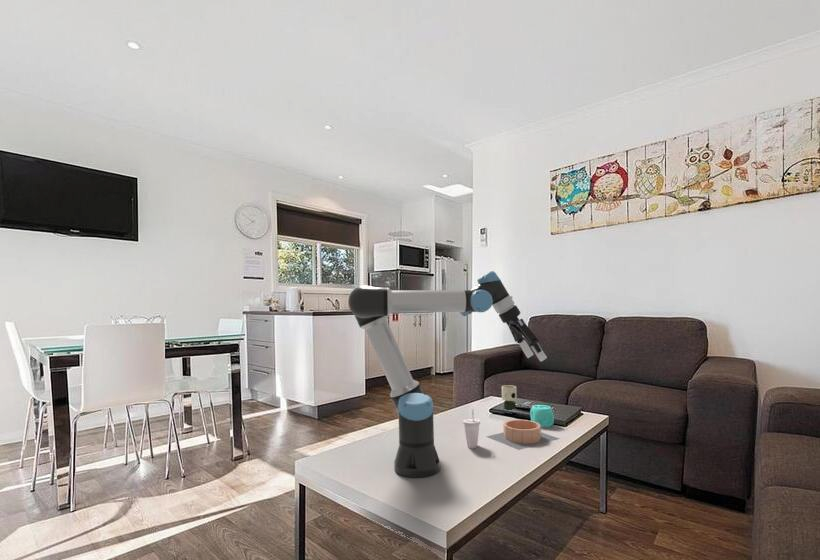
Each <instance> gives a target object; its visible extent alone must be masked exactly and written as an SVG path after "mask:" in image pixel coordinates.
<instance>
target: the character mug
mask: <svg viewBox="0 0 820 560" xmlns="http://www.w3.org/2000/svg"><path fill="white" fill-rule="evenodd" d="M517 392H518V390H517V385H510V384H506V385H505V384H504V385H501V399H502V400H503V401H504V402H503V410H504V409H506V410H512V409H515V407H517V406H516V402H515V401H517V400H518V399H517V398H518V395H517Z"/></svg>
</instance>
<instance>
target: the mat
mask: <svg viewBox="0 0 820 560" xmlns="http://www.w3.org/2000/svg"><path fill="white" fill-rule="evenodd" d="M485 437H486V438H488V439H491V440H494V441H496V442H498V443H500V444H504V445H506V446H508V447H510V448H513V449H516V450H517V451H520V450H523V449H526V448H527V449H528V448H531V447H535V446H538V445H543V444H544V443H545V444H546V443H549V442H553V441H557V440H560V438H559V437H556V436H553V435H550V434H547V433H544V432H542V431H541V440H540V441H539V442H536V443H528V444H523V443H515V442H511V441H508V440H506V439H505V438H504V431H503V432H499V433H495V434H491V435H486V436H485Z"/></svg>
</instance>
